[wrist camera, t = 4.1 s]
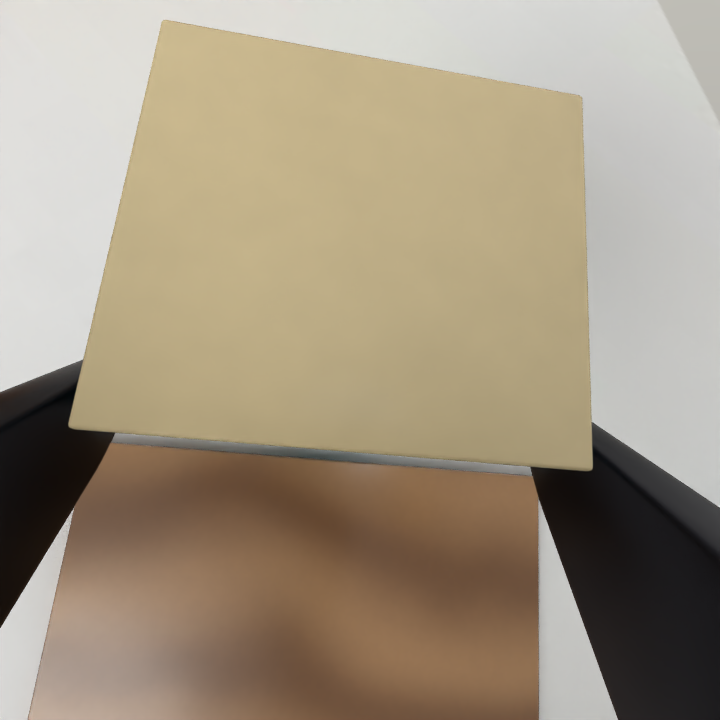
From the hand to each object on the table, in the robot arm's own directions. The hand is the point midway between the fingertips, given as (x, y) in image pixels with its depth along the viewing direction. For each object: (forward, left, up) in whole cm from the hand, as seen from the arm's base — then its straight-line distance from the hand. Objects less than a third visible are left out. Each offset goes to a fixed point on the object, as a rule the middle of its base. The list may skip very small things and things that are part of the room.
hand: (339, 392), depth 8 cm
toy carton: (+1, +1, -9) cm, 9 cm away
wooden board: (-9, -7, -9) cm, 14 cm away
